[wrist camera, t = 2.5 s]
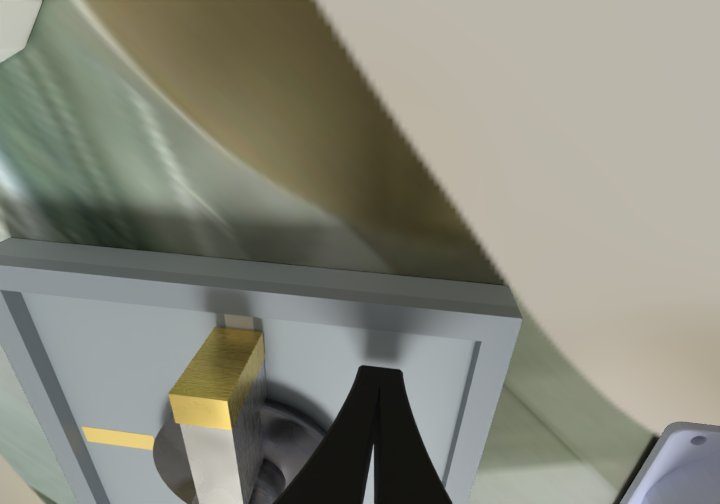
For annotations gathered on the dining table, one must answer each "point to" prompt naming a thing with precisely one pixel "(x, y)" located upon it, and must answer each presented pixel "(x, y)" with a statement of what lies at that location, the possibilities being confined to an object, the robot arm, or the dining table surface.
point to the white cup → (16, 25)
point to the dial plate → (246, 312)
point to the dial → (231, 427)
